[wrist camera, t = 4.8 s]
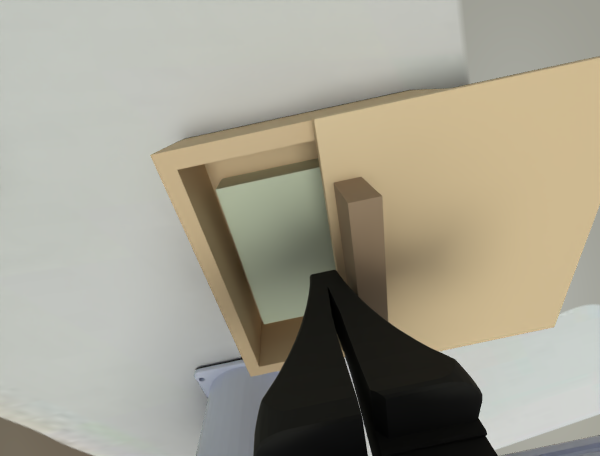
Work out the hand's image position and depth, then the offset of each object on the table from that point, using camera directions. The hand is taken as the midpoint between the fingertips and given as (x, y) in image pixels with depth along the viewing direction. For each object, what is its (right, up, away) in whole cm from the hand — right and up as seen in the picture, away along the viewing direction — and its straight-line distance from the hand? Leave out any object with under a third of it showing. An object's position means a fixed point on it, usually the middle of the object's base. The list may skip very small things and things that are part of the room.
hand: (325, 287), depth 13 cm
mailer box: (0, +3, +5) cm, 6 cm away
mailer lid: (+7, +2, +1) cm, 8 cm away
